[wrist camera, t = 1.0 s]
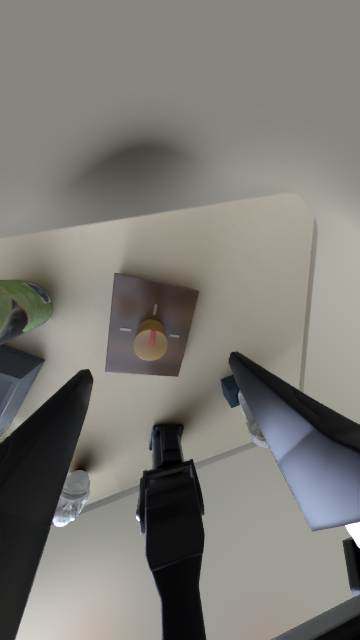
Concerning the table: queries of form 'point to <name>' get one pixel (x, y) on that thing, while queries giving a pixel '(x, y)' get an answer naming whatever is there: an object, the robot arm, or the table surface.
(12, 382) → the dark gray square tray
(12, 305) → the beverage can
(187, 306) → the brown dial base
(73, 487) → the frog figurine
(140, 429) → the table surface
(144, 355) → the yellow dial knob
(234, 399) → the watch
